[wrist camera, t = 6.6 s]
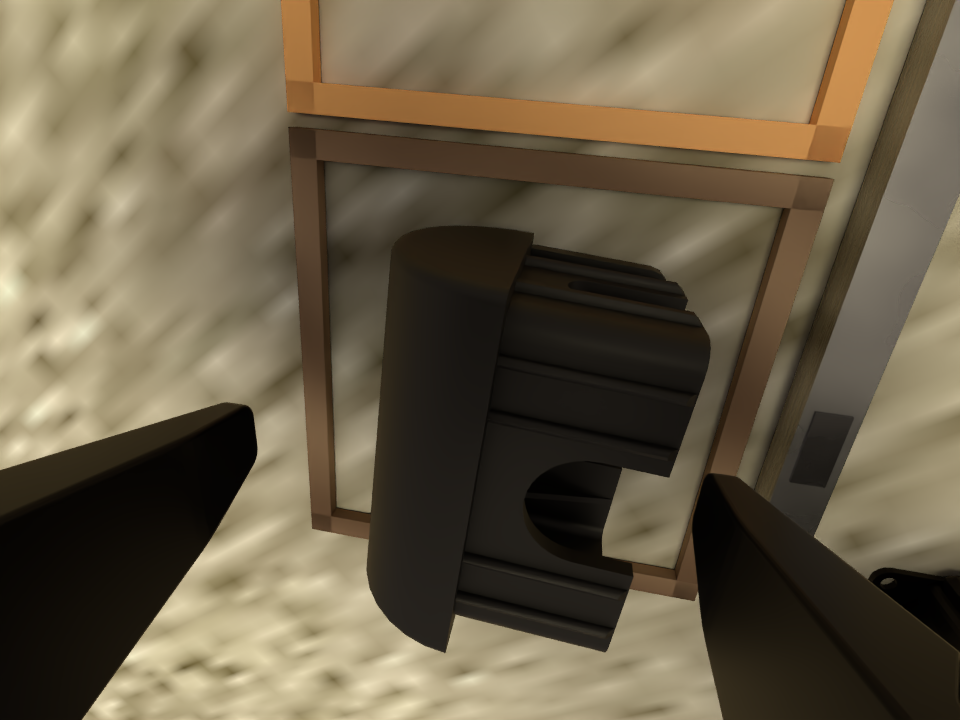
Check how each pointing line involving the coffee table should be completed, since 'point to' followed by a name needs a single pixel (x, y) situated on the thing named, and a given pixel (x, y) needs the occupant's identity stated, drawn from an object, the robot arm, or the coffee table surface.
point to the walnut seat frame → (620, 174)
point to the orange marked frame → (678, 130)
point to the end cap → (519, 429)
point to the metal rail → (873, 274)
